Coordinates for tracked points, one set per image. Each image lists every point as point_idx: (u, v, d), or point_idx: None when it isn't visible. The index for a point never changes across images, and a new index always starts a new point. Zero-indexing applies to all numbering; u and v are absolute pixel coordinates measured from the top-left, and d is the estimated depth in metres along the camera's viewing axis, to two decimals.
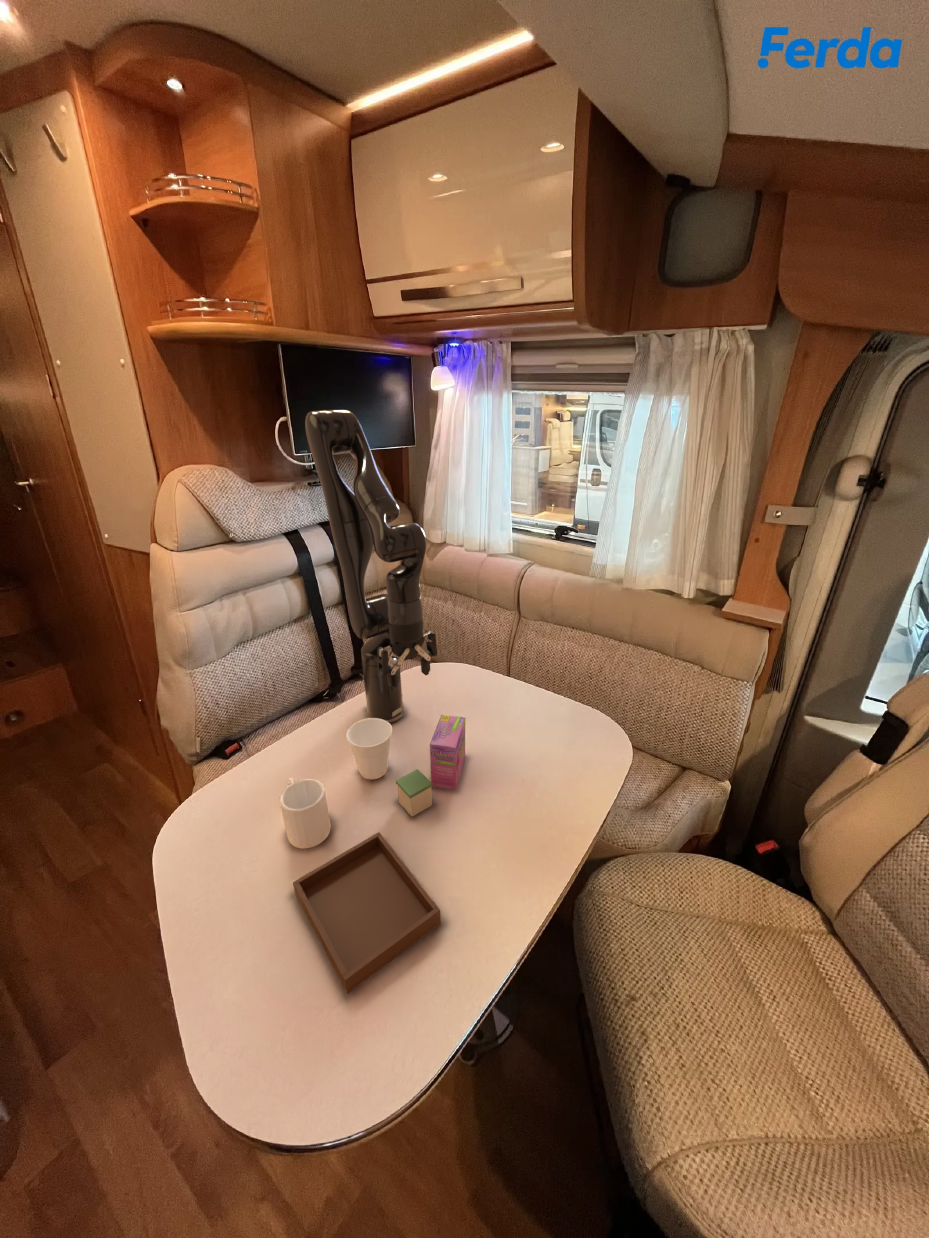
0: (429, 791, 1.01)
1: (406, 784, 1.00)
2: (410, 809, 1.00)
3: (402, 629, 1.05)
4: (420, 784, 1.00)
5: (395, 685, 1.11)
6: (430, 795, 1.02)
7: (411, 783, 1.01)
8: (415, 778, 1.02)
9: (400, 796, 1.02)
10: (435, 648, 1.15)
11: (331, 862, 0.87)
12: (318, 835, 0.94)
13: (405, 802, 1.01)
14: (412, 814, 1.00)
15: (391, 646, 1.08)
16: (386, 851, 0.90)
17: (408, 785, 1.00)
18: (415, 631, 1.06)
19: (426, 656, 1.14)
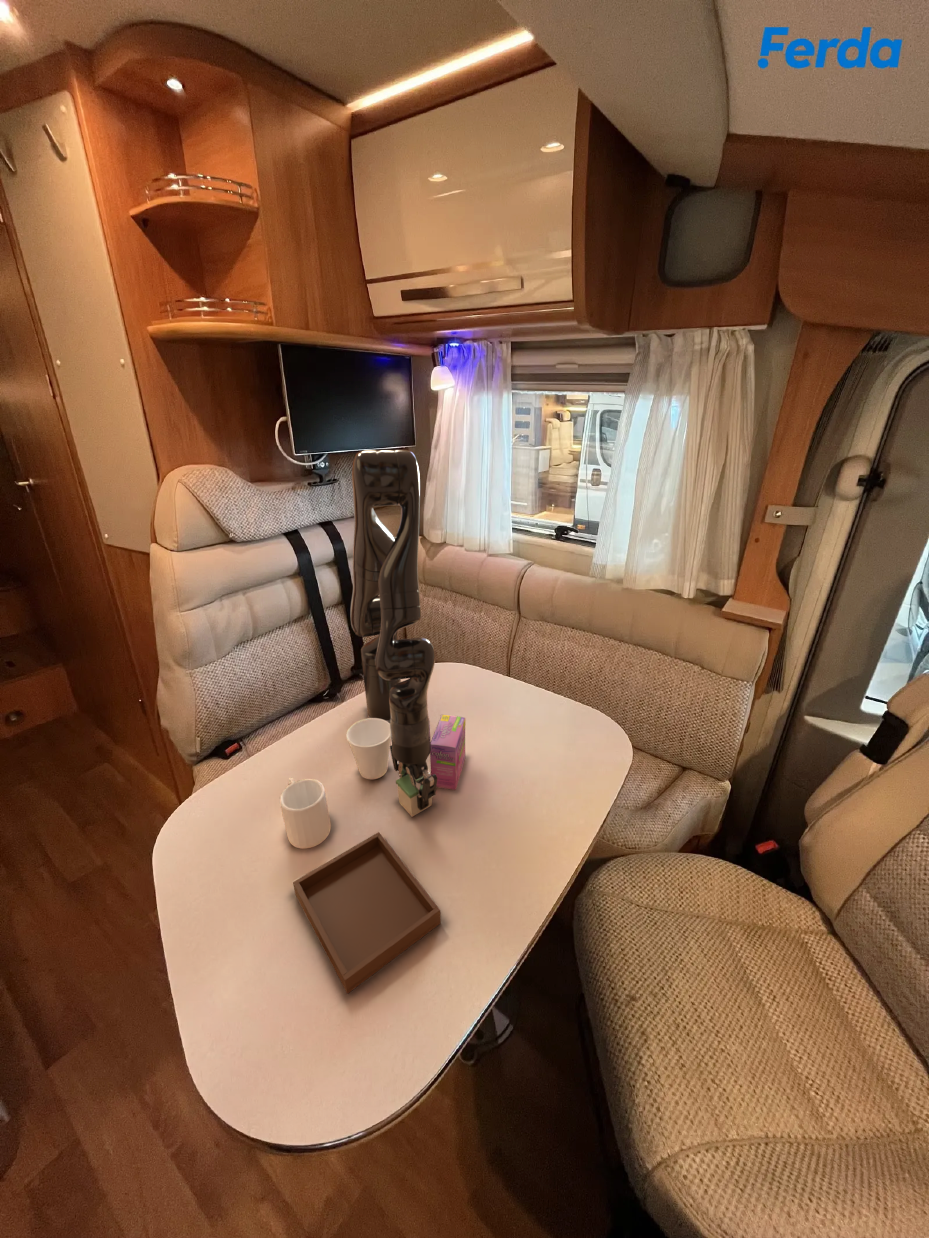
0: None
1: (406, 784, 1.00)
2: (410, 809, 1.00)
3: None
4: None
5: None
6: None
7: None
8: None
9: (400, 796, 1.02)
10: (424, 794, 0.95)
11: (331, 862, 0.87)
12: (318, 835, 0.94)
13: (405, 802, 1.01)
14: (412, 814, 1.00)
15: None
16: (386, 851, 0.90)
17: (408, 785, 1.00)
18: (394, 750, 0.95)
19: (417, 790, 0.98)
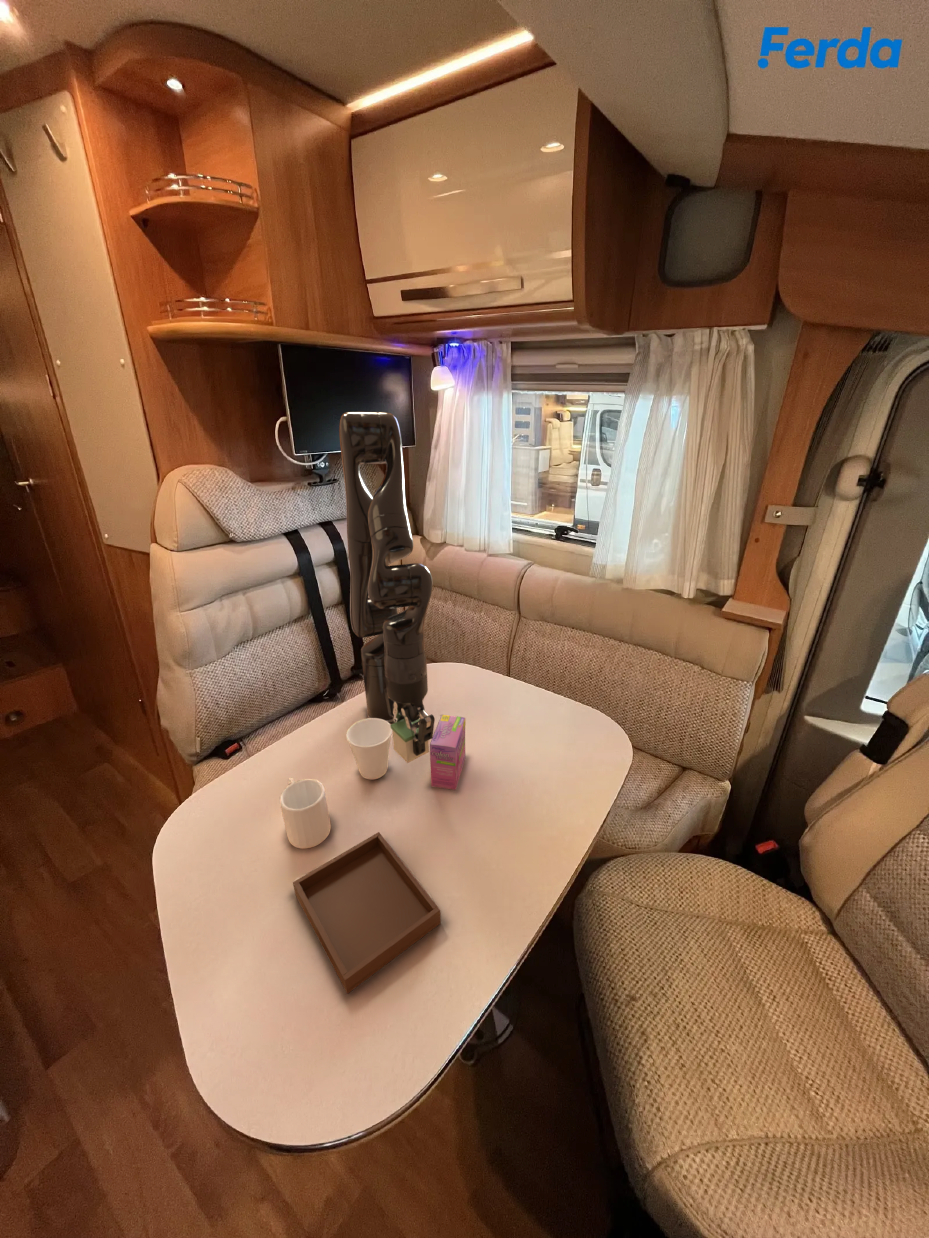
0: None
1: (401, 728, 0.94)
2: (405, 755, 0.94)
3: None
4: None
5: None
6: (427, 741, 0.96)
7: None
8: None
9: (395, 742, 0.96)
10: (420, 736, 0.89)
11: (331, 862, 0.87)
12: (318, 835, 0.94)
13: (400, 747, 0.95)
14: (408, 760, 0.94)
15: None
16: (386, 851, 0.90)
17: (403, 729, 0.94)
18: (388, 688, 0.88)
19: (413, 733, 0.92)
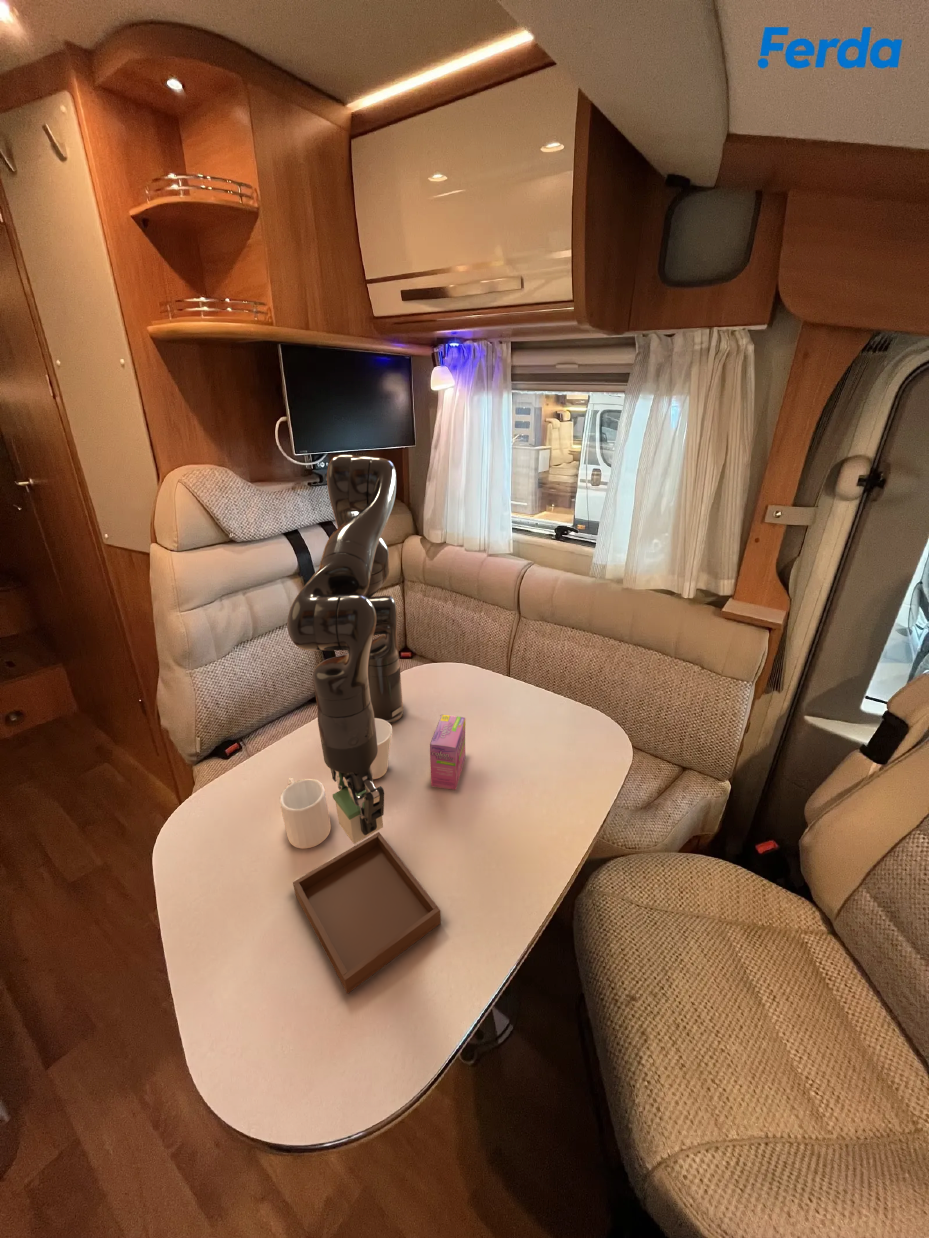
0: None
1: (346, 800, 0.74)
2: (351, 834, 0.73)
3: None
4: None
5: None
6: None
7: None
8: None
9: (339, 816, 0.76)
10: (367, 815, 0.69)
11: (331, 862, 0.87)
12: (318, 835, 0.94)
13: (345, 824, 0.74)
14: (354, 841, 0.73)
15: None
16: (386, 851, 0.90)
17: (348, 801, 0.73)
18: (324, 753, 0.68)
19: (358, 808, 0.71)
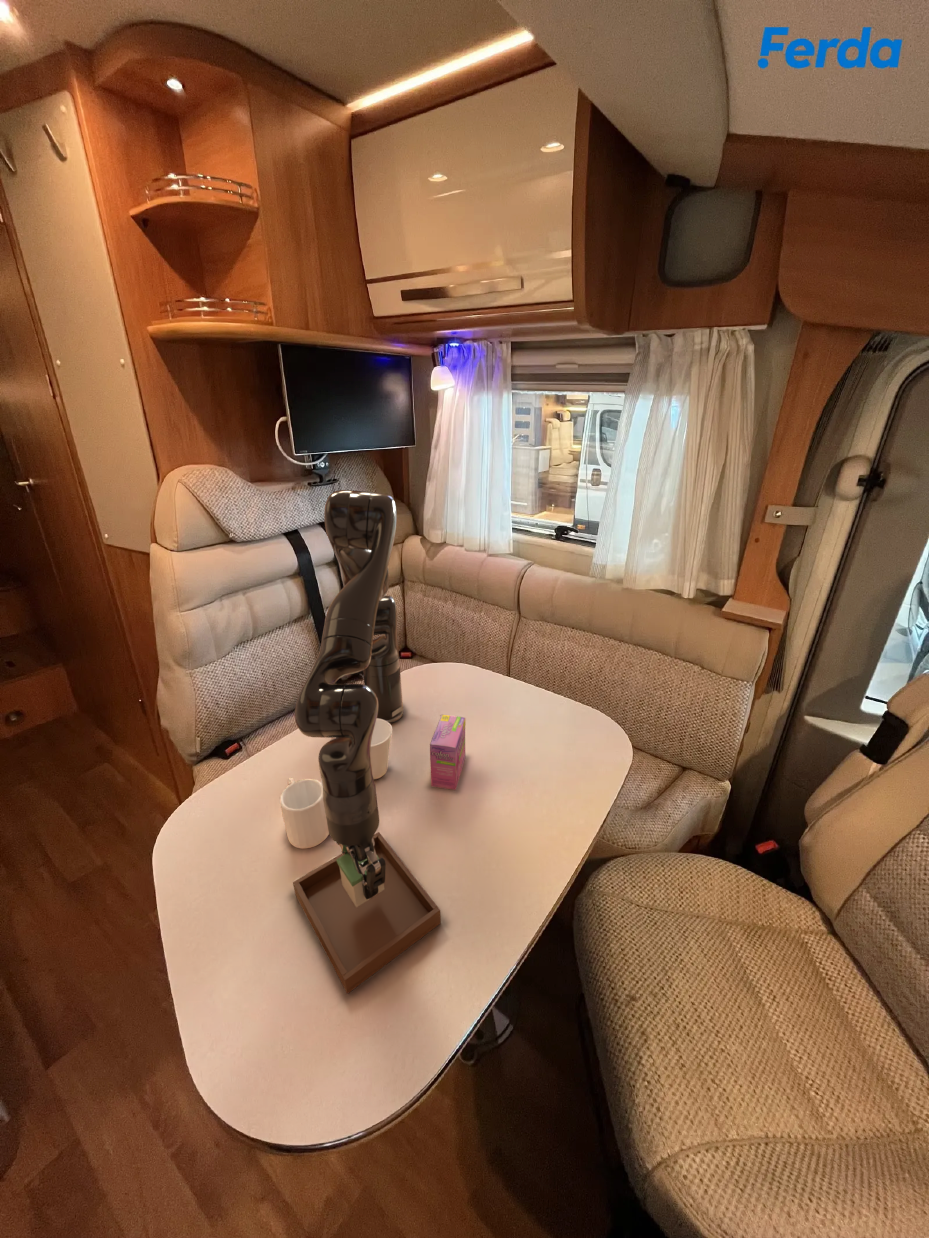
0: None
1: (349, 865, 0.77)
2: (354, 898, 0.77)
3: None
4: None
5: None
6: None
7: None
8: None
9: (343, 879, 0.79)
10: (369, 884, 0.73)
11: (331, 862, 0.87)
12: (318, 835, 0.94)
13: (348, 888, 0.78)
14: (357, 904, 0.77)
15: None
16: (386, 851, 0.90)
17: (351, 867, 0.77)
18: (328, 826, 0.72)
19: (361, 876, 0.75)
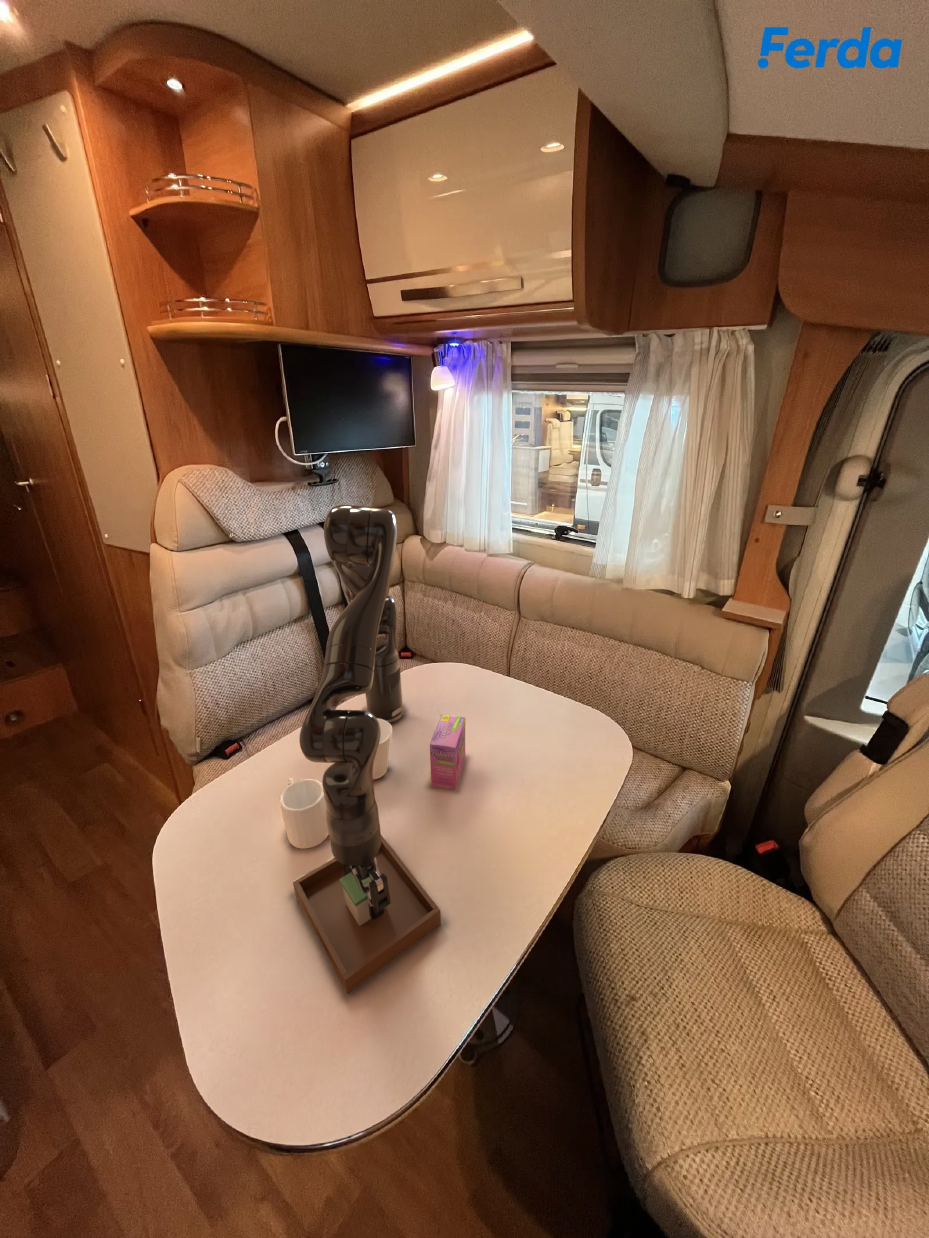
0: None
1: (352, 885, 0.79)
2: (357, 917, 0.79)
3: None
4: None
5: None
6: None
7: None
8: None
9: (346, 898, 0.81)
10: (374, 904, 0.73)
11: (331, 862, 0.87)
12: (318, 835, 0.94)
13: (351, 907, 0.80)
14: (360, 923, 0.79)
15: None
16: (386, 851, 0.90)
17: (354, 887, 0.79)
18: (332, 847, 0.74)
19: (366, 896, 0.76)
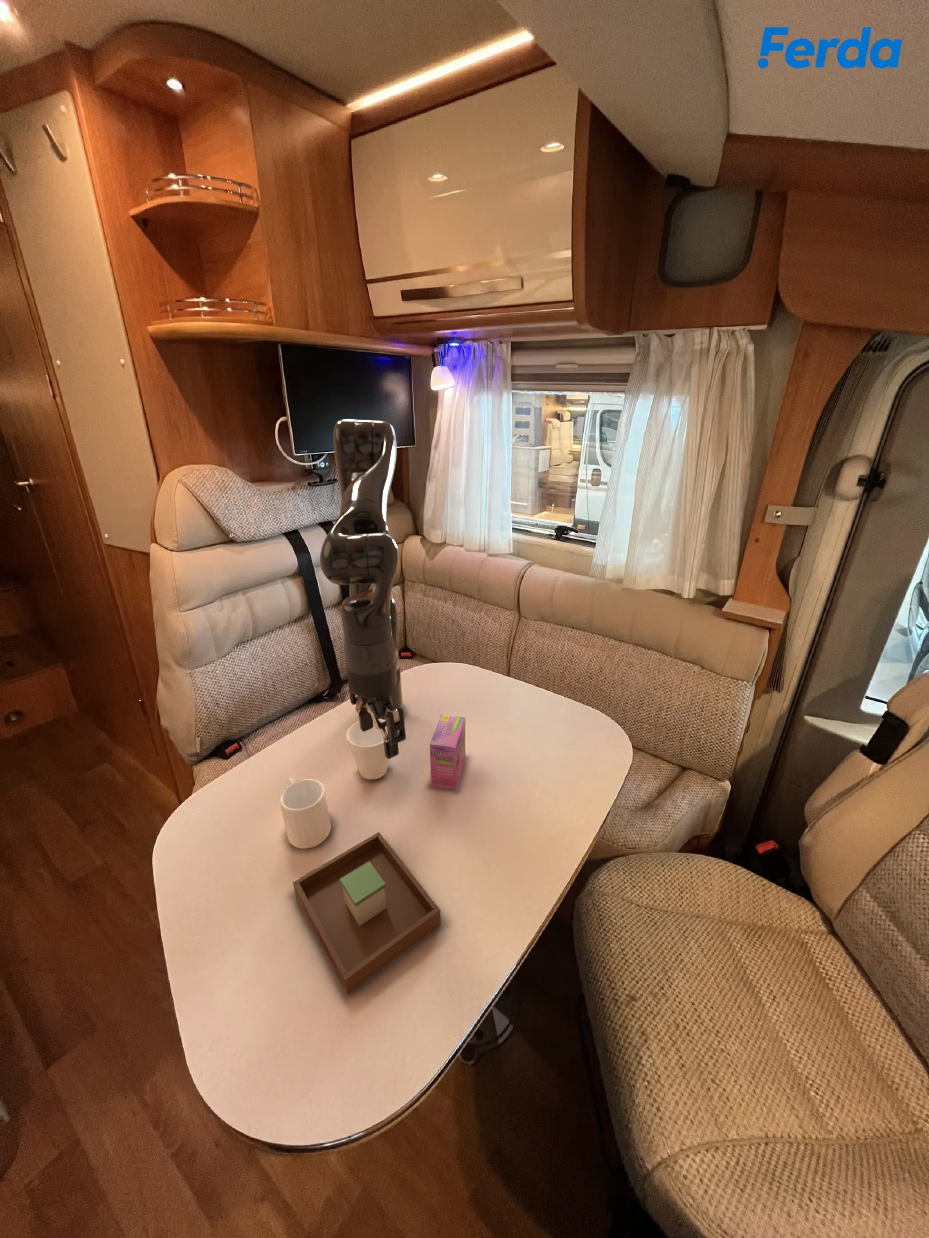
0: (382, 893, 0.80)
1: (352, 885, 0.79)
2: (357, 917, 0.79)
3: None
4: (370, 885, 0.79)
5: (360, 727, 0.86)
6: (383, 897, 0.81)
7: (359, 883, 0.80)
8: (364, 876, 0.81)
9: (346, 898, 0.81)
10: (390, 735, 0.76)
11: (331, 862, 0.87)
12: (318, 835, 0.94)
13: (351, 907, 0.80)
14: (360, 923, 0.79)
15: None
16: (386, 851, 0.90)
17: (354, 887, 0.79)
18: (349, 680, 0.76)
19: (382, 733, 0.78)
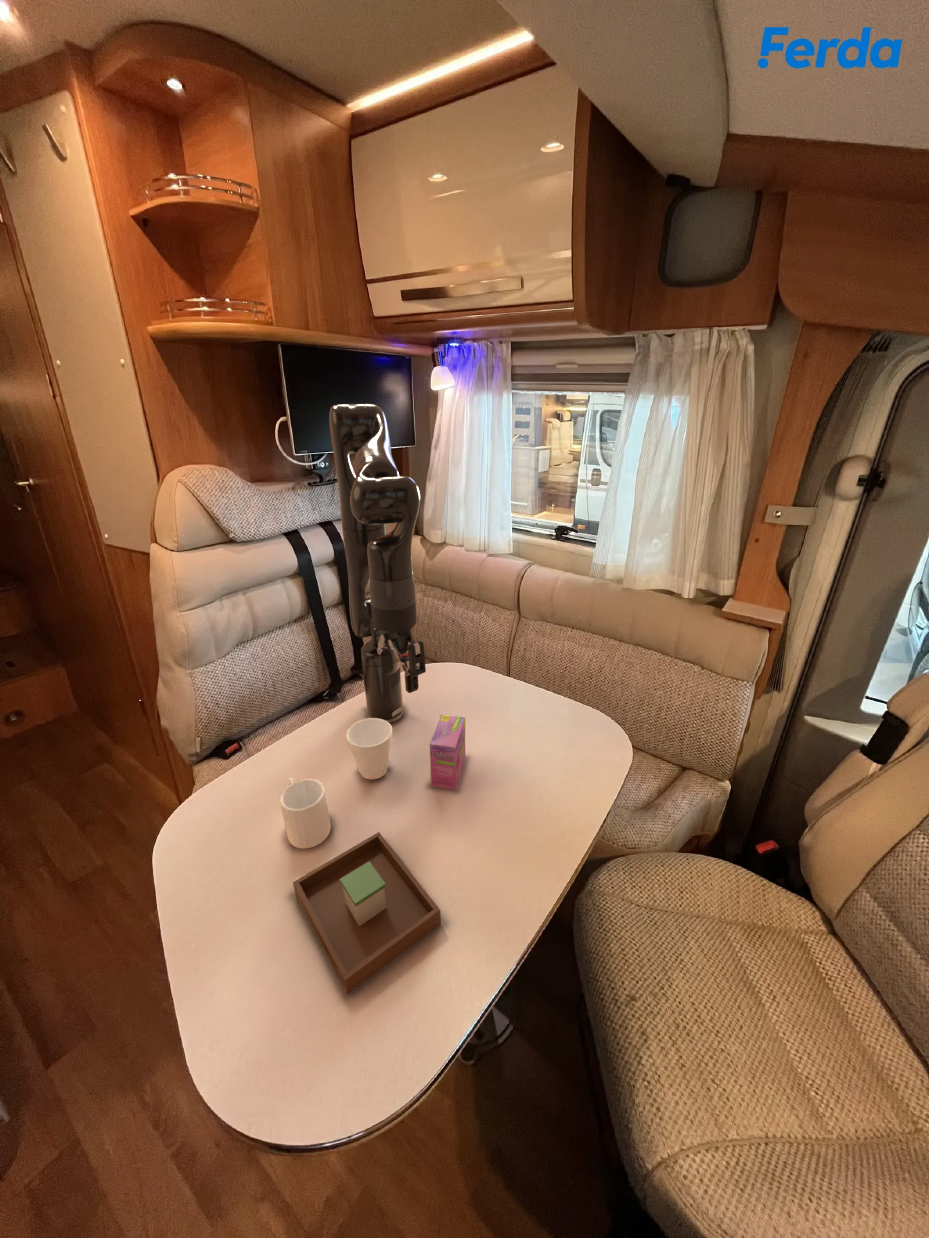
0: (382, 893, 0.80)
1: (352, 885, 0.79)
2: (357, 917, 0.79)
3: None
4: (370, 885, 0.79)
5: (381, 668, 0.93)
6: (383, 897, 0.81)
7: (359, 883, 0.80)
8: (364, 876, 0.81)
9: (346, 898, 0.81)
10: (411, 667, 0.82)
11: (331, 862, 0.87)
12: (318, 835, 0.94)
13: (351, 907, 0.80)
14: (360, 923, 0.79)
15: None
16: (386, 851, 0.90)
17: (354, 887, 0.79)
18: (374, 616, 0.83)
19: (404, 667, 0.85)
